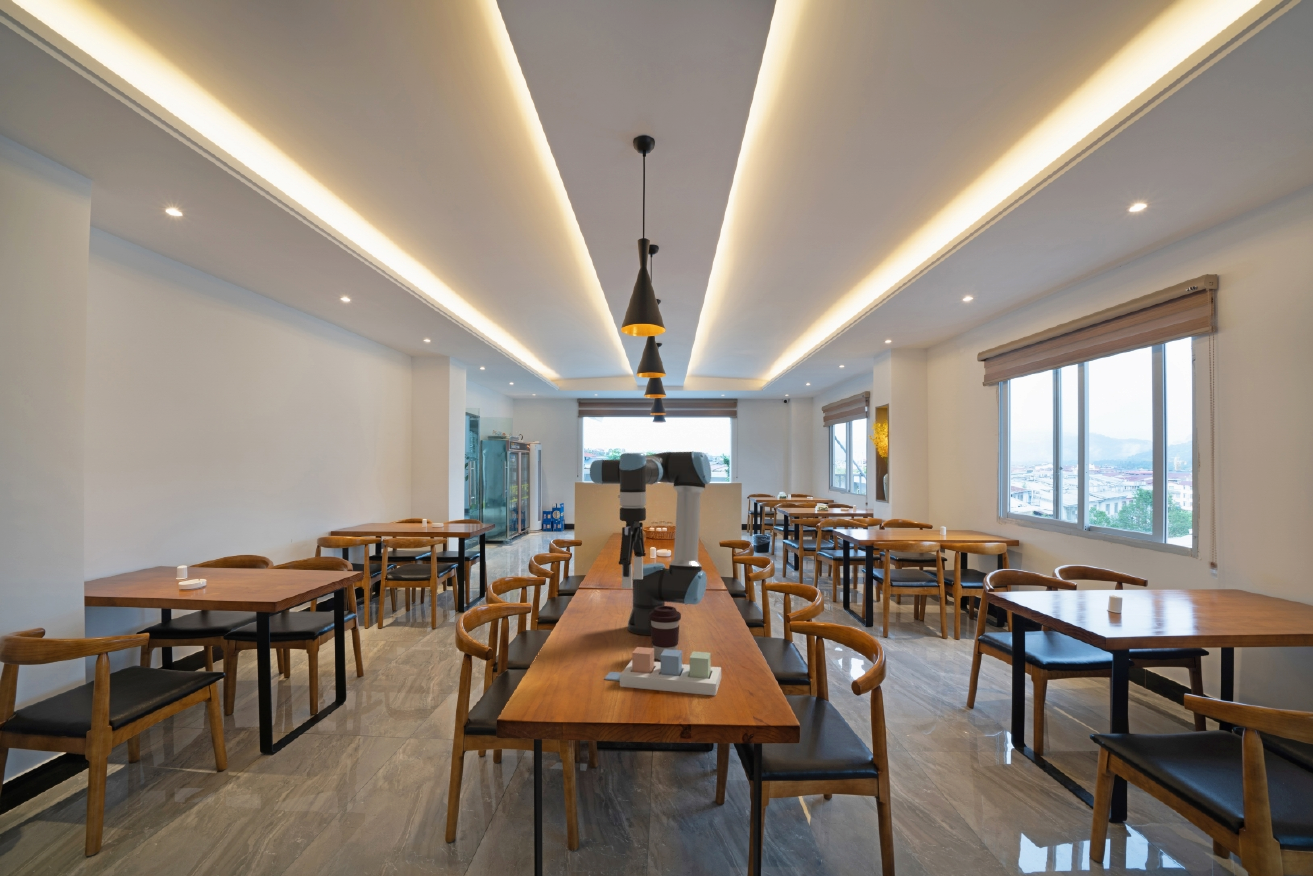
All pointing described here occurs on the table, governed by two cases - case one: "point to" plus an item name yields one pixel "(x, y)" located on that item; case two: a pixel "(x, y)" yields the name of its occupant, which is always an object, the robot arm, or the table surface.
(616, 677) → the swatch
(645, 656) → the button terracotta
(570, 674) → the table surface
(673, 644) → the coffee cup
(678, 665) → the button slate
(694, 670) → the button sage
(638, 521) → the robot arm
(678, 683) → the button board
